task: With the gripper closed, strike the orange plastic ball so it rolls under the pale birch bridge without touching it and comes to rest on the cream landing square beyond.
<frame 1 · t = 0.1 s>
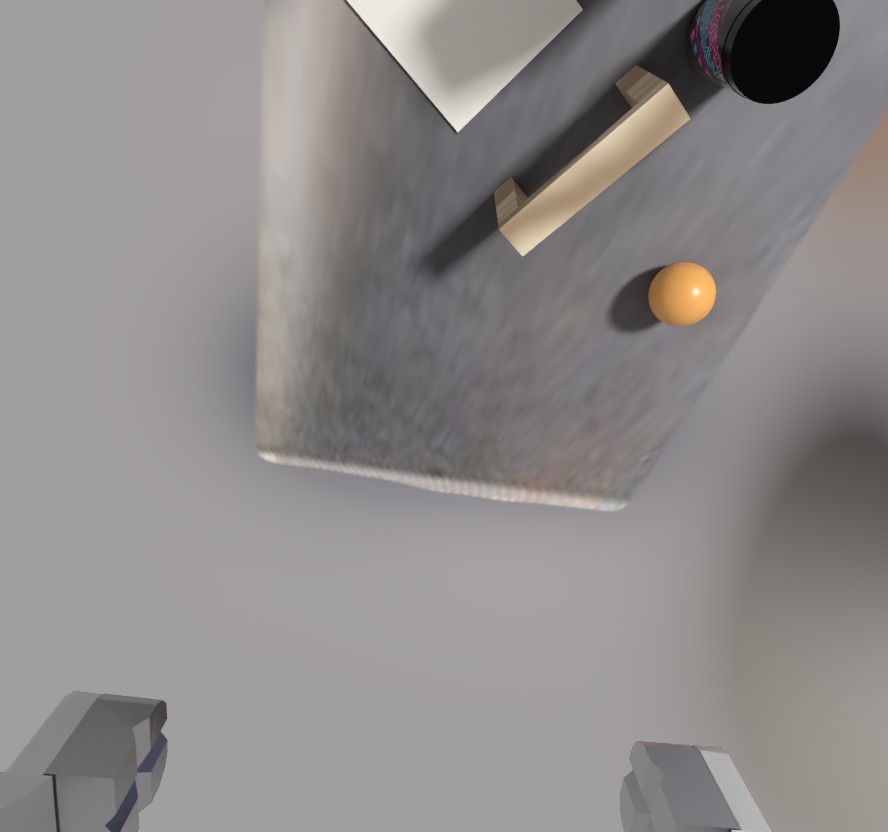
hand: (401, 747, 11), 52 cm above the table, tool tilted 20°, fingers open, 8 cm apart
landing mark: (464, 3, 47), on the table
ball: (681, 294, 58), on the table
supplement container: (727, 32, 48), on the table
bridge: (570, 146, 53), on the table
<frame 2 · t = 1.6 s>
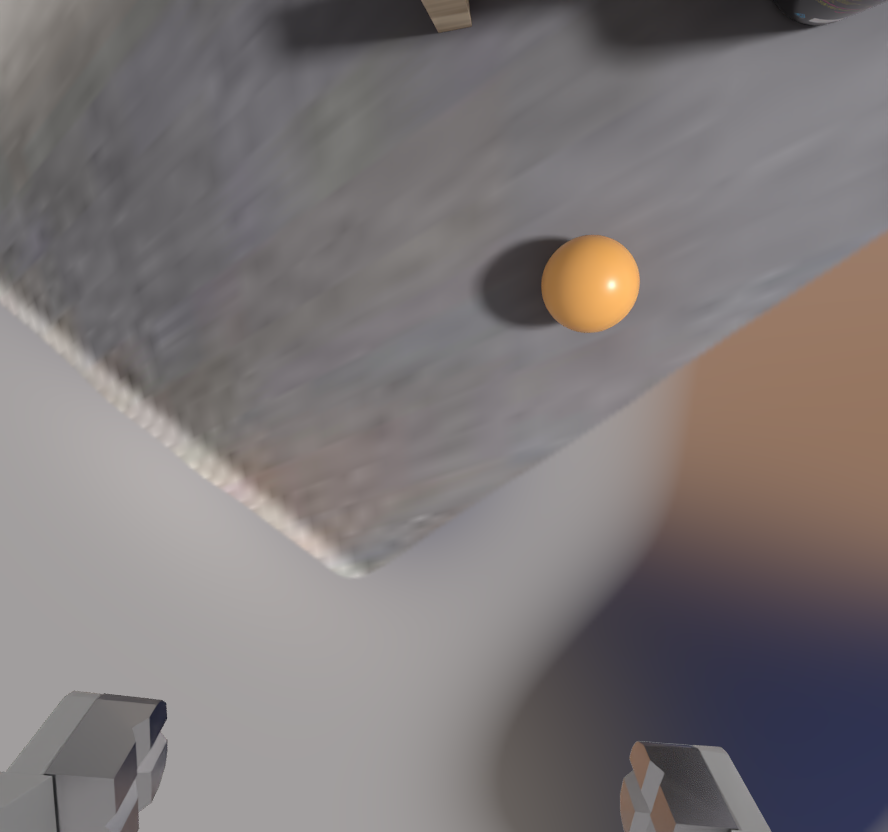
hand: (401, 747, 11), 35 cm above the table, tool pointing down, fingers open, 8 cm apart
ball: (589, 284, 39), on the table
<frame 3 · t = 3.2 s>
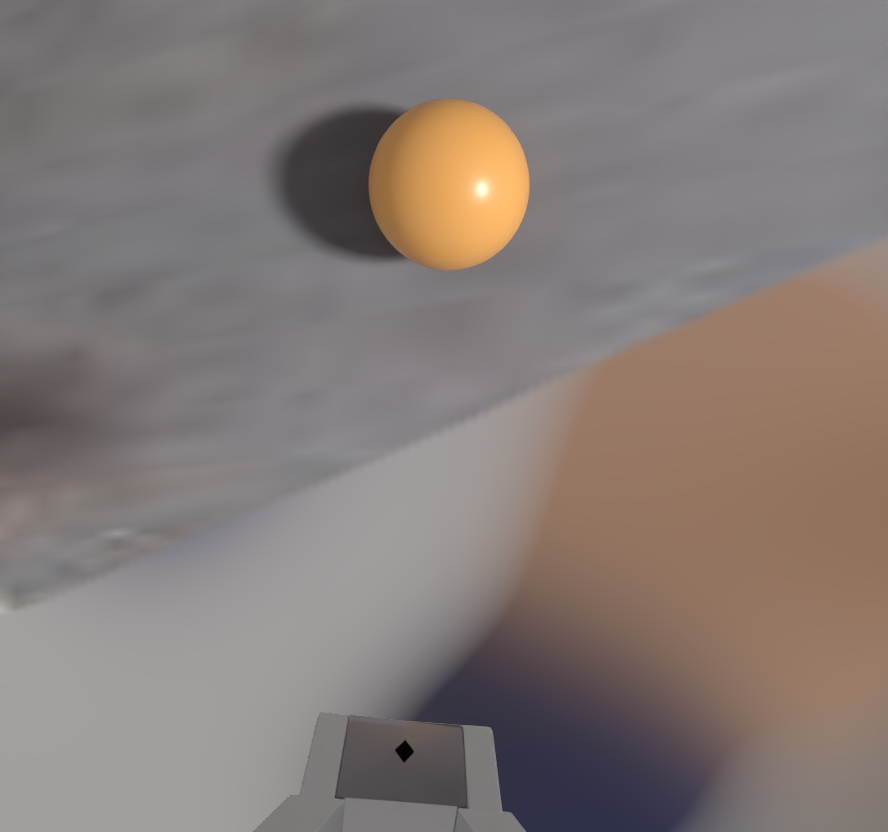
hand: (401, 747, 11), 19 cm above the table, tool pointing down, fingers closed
ball: (448, 188, 23), on the table
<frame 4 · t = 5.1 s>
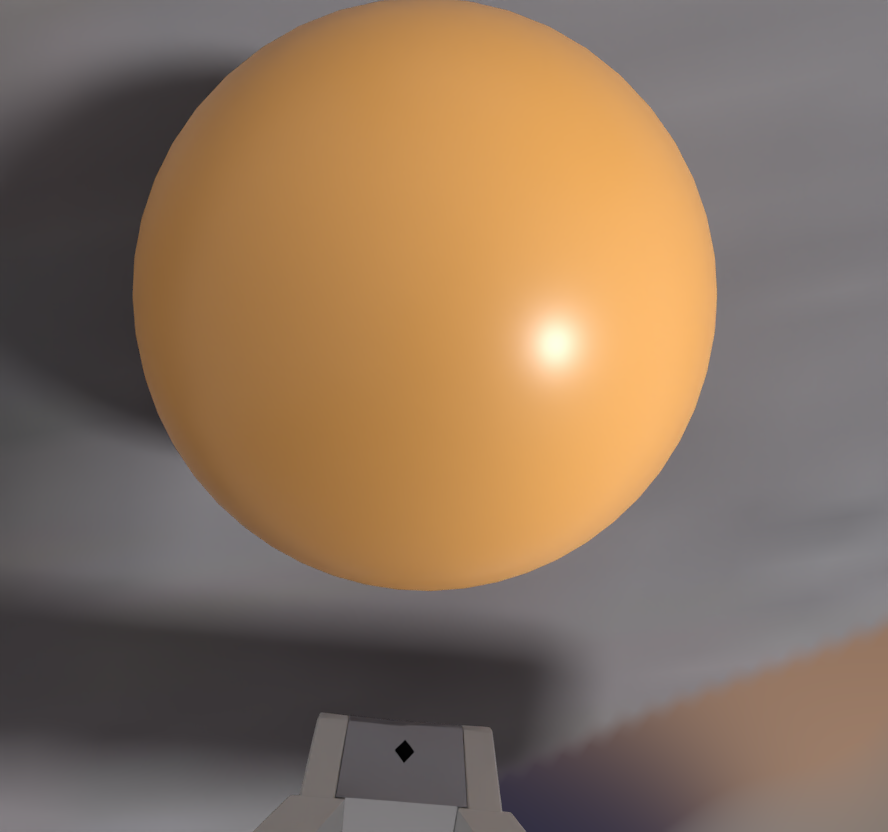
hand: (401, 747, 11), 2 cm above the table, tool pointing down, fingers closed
ball: (428, 316, 7), on the table
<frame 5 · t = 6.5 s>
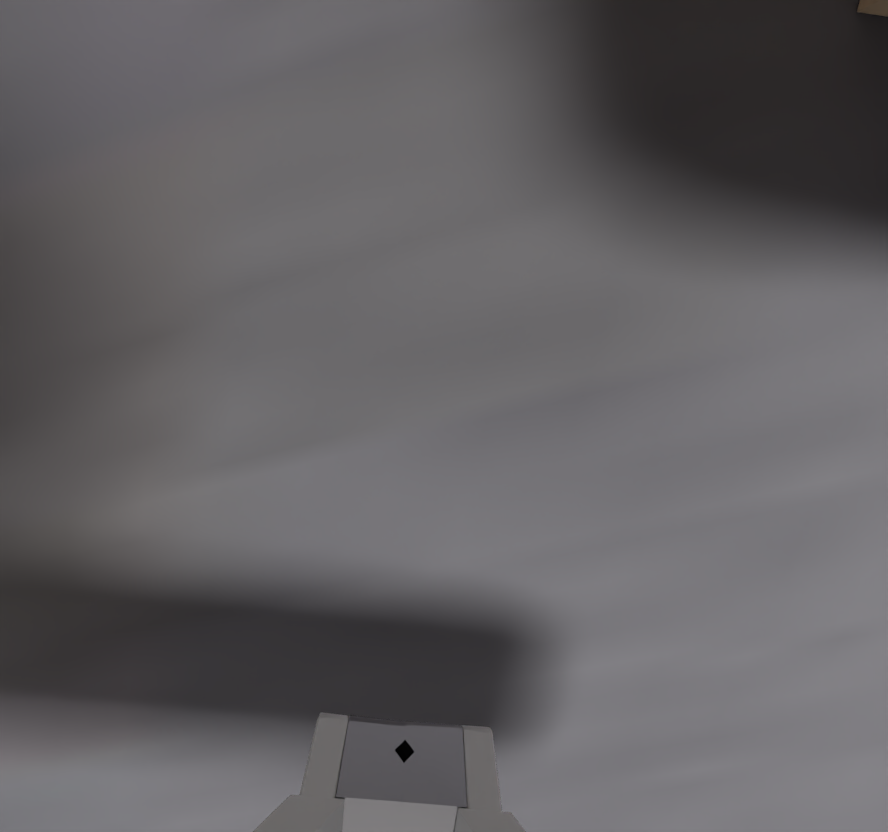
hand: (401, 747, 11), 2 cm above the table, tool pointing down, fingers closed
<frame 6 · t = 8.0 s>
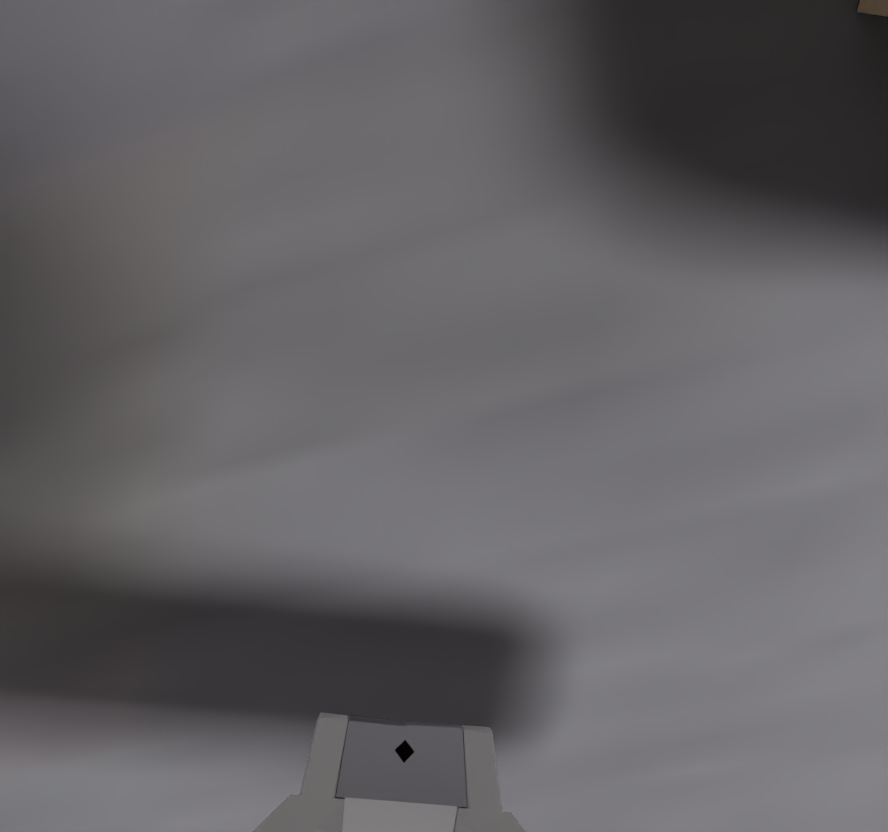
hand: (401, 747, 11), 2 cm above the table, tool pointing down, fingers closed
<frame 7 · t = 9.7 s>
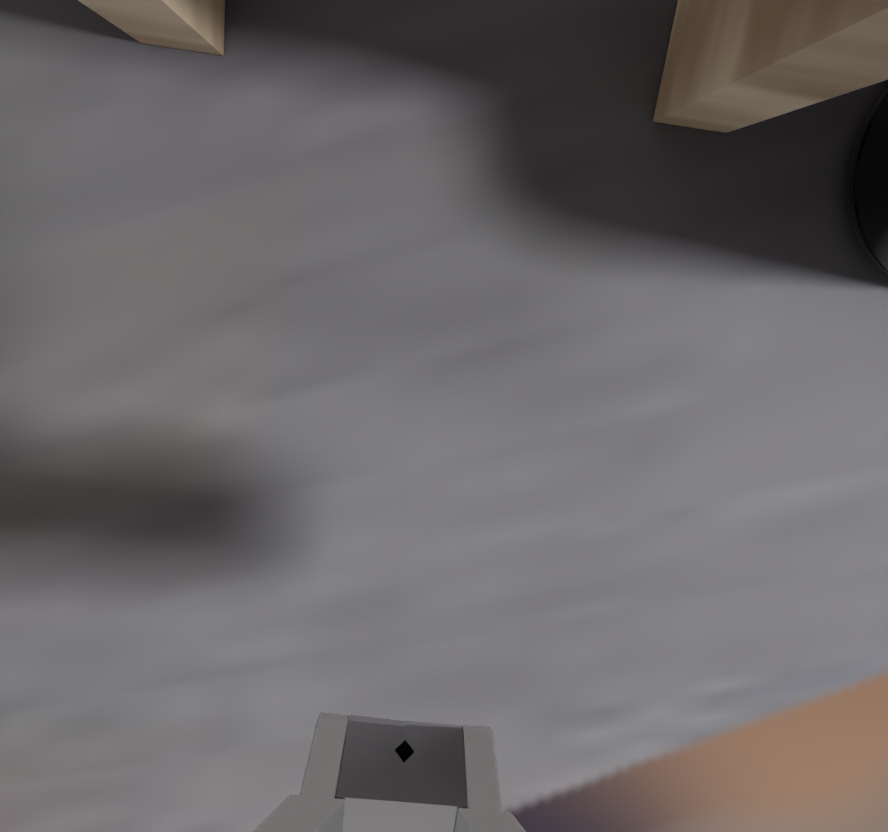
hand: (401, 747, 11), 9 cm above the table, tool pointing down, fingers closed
bridge: (451, 22, 15), on the table
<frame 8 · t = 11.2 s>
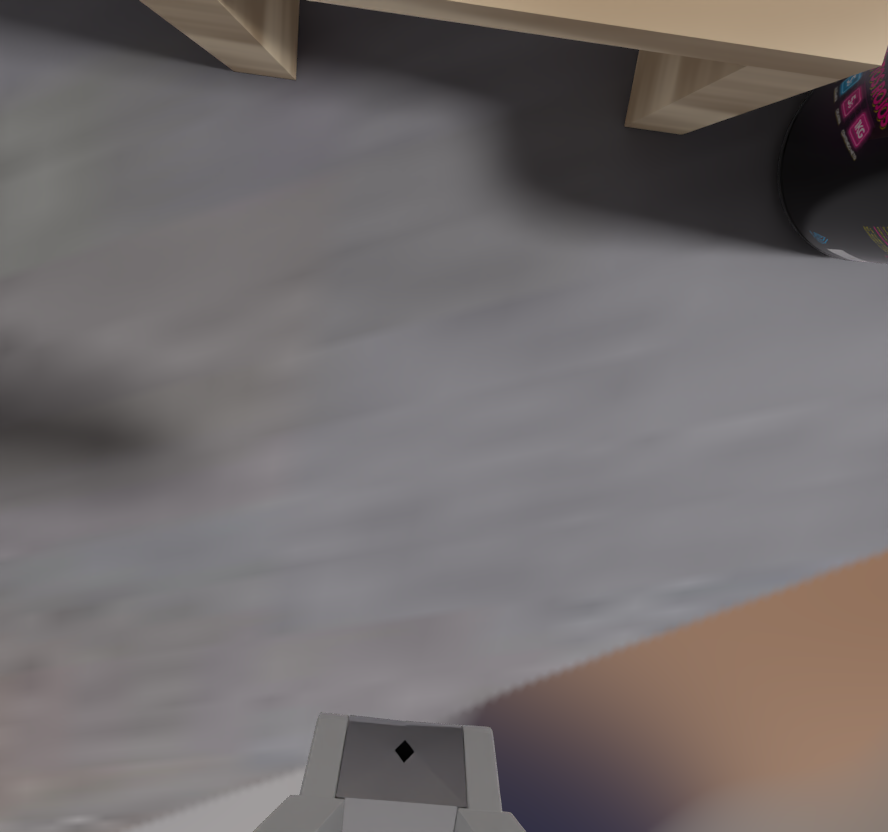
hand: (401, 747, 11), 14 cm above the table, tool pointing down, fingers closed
supplement container: (861, 161, 21), on the table
bridge: (468, 52, 20), on the table
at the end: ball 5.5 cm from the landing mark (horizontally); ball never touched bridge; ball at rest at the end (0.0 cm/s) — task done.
